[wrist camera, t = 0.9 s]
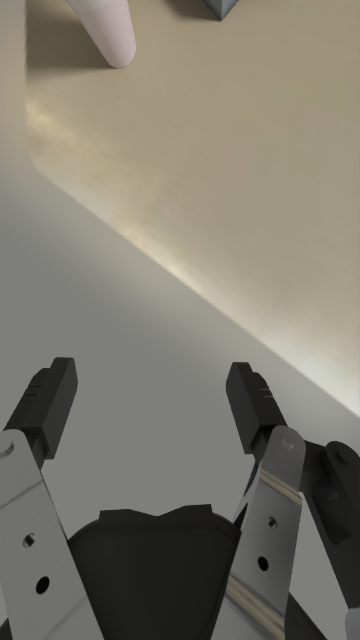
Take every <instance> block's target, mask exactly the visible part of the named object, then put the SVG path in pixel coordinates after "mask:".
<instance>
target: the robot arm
mask: <svg viewBox="0 0 360 640" xmlns="http://www.w3.org/2000/svg"><path fill="white" fill-rule="evenodd" d="M77 383H78V379H77V374H76V368H75V362H74V359H73V358H66V357H56V358H55V359H54V361H53V363H52V365H51V367H50V368H42V369H41V370H40V371H39V372H38V373H37V374H36V375H34V376H33V378H32V380H31V381H30V383H29V385H28V388H27V389H26V391H25V392H24V395H23V396H22V398H21V400H20V401H19V403H18V405H17V407H16V409H15V410H14V412H13V414H12V416H11V418H10V419H9V421H8V423H7V425H6V427H5V428H4V430H3V431H2V432H0V581H1V585H2V590H3V595H4V600H5V605H6V609H7V614H8V618H7V619H6V620H5V622H4V623H3V624H2V626H1V627H0V640H327V639H326V637H325V636H324V635H323V634H322V632H321V631H320V630H319V629H318V627H317V626H316V625H315V624H314V622H313V621H312V620H311V619H310V617H309V616H308V615H307V614H306V612H305V611H304V610H303V609H302V607H301V606H300V605H299V603H298V602H297V601H296V600H295V598H294V597H293V596H292V595H291V593H290V592H289V587H290V580H291V574H292V567H293V561H294V555H295V548H296V542H297V535H298V529H299V522H300V516H301V509H302V499H301V497H299V491H300V492H303V494H304V496H305V499H306V501H307V504H308V506H309V509H310V512H311V514H312V517H313V519H314V522H315V524H316V527H317V529H318V532H319V535H320V537H321V540H322V542H323V545H324V547H325V550H326V552H327V555H328V558H329V560H330V563H331V565H332V568H333V570H334V573H335V575H336V578H337V580H338V583H339V586H340V588H341V591H342V593H343V596H344V598H345V601H346V604H347V606H348V608H349V610H348V612H347V614H346V618H345V629H346V635H347V640H360V457H359V456H358V454H357V453H356V452H355V451H354V450H352V449H351V448H350V447H349V446H347V445H346V444H344V443H341V442H338V441H332V442H329V443H328V444H327V445H326V446H321V445H318V444H315V443H311V442H308V441H306V440H303V438H302V437H301V436H300V435H299V434H298V433H297V432H296V431H295V430H293V429H292V428H290V427H288V426H287V424H286V422H285V420H284V417H283V415H282V413H281V411H280V409H279V407H278V405H277V403H276V401H275V399H274V398H273V395H272V393H271V391H270V390H269V387H268V385H267V383H266V381H265V380H264V379H263V377H262V376H261V375H260V374H259V373H256V372H253V371H252V369H251V367H250V365H249V363H248V362H233V363H232V366H231V369H230V372H229V375H228V378H227V381H226V393H227V396H228V399H229V403H230V406H231V410H232V413H233V416H234V419H235V422H236V426H237V429H238V433H239V436H240V439H241V443H242V446H243V449H244V453H245V454H253V455H254V458H255V461H254V464H253V466H252V470H251V472H250V475H249V478H248V481H247V484H246V486H245V489H244V492H243V495H242V498H241V500H240V503H239V505H238V507H237V509H236V512H235V514H234V517H233V519H232V522H230V521H229V520H228V519H226V518H224V517H223V516H221V515H218V514H216V513H213V512H212V508H211V504H205V505H188V506H183V507H181V508H178V509H175V510H173V511H170V512H168V513H166V514H163V515H160V516H153V515H149V514H146V513H142V512H138V511H134V510H130V509H123V510H122V509H121V510H104V511H100V515H99V519H98V520H95V521H93V522H91V523H89V524H87V525H86V526H84V527H83V528H81V529H80V530H79V531H77V532H76V533H75V534H74V535H73V536H72V537H71V538H70V539H69V540H68V538H67V535H66V533H65V531H64V528H63V525H62V523H61V521H60V518H59V516H58V513H57V511H56V508H55V506H54V503H53V501H52V498H51V496H50V493H49V491H48V488H47V485H46V483H45V481H44V478H43V476H42V473H41V468H42V466H43V463H44V460H45V459H54V456H55V453H56V451H57V448H58V445H59V441H60V439H61V435H62V433H63V430H64V427H65V424H66V421H67V418H68V415H69V412H70V408H71V406H72V403H73V400H74V397H75V394H76V391H77V385H78V384H77Z"/></svg>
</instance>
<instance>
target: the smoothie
mask: <svg viewBox="0 0 360 640" xmlns="http://www.w3.org/2000/svg"><path fill="white" fill-rule="evenodd" d="M67 2H68V3H69V5H70V6H71V8H72V9H73V11H74V12H75V14H76V15H77V17H78V18H79V20H80V21H81V23H82V25H83V26H84V28H85V29H86V31H87V32H88V34H89V35H90V37H91V38H92V40H93V41H94V43H95V44H96V46H97V47H98V49H99V50H100V52H101V53H102V55H103V56H104V58H105V59H106V61H107V62H108V64H109V65H111V66H112V67H114V68H123V67H126V66H127V65H128V64H129V63H130V62H131V61H132V59H133V58H134V55H135V51H136V43H135V38H134V32H133V27H132V22H131V17H130V12H129V6H128V1H127V0H67Z"/></svg>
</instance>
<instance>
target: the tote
mask: <svg viewBox="0 0 360 640" xmlns="http://www.w3.org/2000/svg"><path fill="white" fill-rule="evenodd" d="M204 1H205V2H206V4H207V5H208V6H209V7H210V8H211V9H212V11H213V12H214V13H215V14H216V15H217V16H218V18H219V19H220V20H221V21H222V20H223V19H224V17H225V16H226V15H227V14H228V12H229V11H230V10H231V9H232V7H233V6H234V5H235V4H236V2H237V1H238V0H204Z"/></svg>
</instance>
